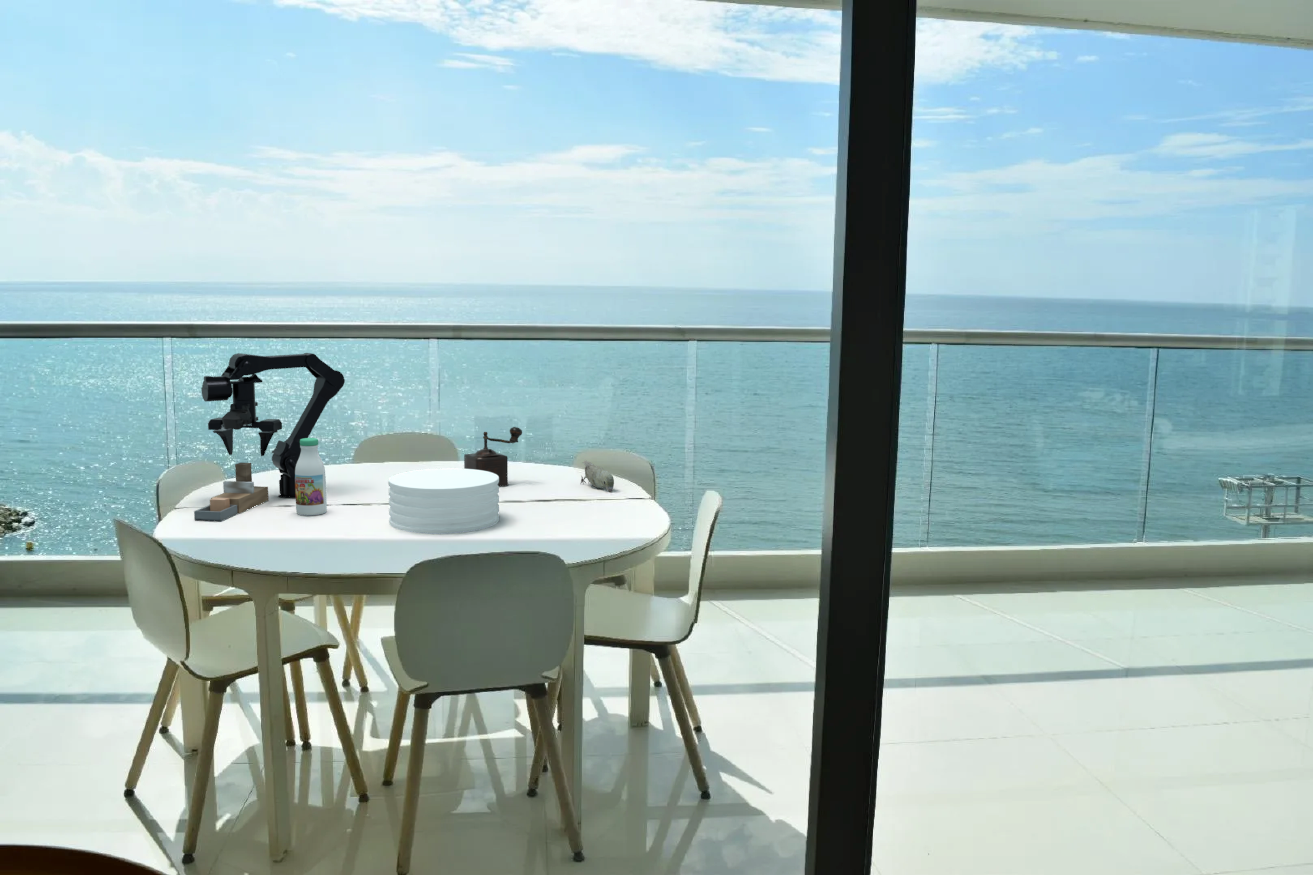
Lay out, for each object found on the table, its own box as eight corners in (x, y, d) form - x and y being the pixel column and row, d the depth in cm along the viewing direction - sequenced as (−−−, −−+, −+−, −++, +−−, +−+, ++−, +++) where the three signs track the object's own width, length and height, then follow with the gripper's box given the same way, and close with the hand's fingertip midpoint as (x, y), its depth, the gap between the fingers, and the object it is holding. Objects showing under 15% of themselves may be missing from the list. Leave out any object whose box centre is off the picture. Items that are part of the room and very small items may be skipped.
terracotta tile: (229, 498, 260) (224, 500, 258) (230, 512, 261) (225, 515, 259) (214, 497, 261) (209, 499, 258) (215, 512, 261) (210, 514, 259)
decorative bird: (603, 494, 296) (603, 469, 295) (577, 484, 310) (577, 461, 309) (619, 492, 299) (619, 467, 298) (592, 483, 313) (592, 459, 312)
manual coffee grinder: (478, 490, 298) (477, 430, 296) (463, 483, 307) (462, 426, 305) (524, 485, 307) (524, 427, 304) (509, 479, 316) (508, 422, 313)
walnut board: (268, 500, 279) (267, 486, 278) (239, 513, 262) (238, 499, 262) (242, 499, 279) (241, 485, 279) (211, 512, 263) (210, 498, 262)
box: (237, 514, 262) (237, 504, 262) (220, 521, 254) (220, 512, 253) (212, 513, 262) (211, 504, 262) (194, 520, 254) (194, 511, 254)
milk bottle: (302, 509, 269) (299, 436, 266) (330, 509, 269) (328, 436, 266) (291, 516, 261) (289, 440, 258) (321, 516, 261) (318, 441, 258)
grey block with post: (261, 489, 274) (260, 463, 273) (252, 493, 269) (250, 466, 268) (233, 488, 274) (232, 462, 273) (223, 492, 269) (222, 465, 268)
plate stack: (372, 517, 262) (371, 474, 260) (469, 504, 279) (468, 464, 277) (416, 539, 240) (415, 493, 238) (518, 524, 257) (518, 481, 255)
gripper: (195, 401, 266) (198, 459, 268) (262, 403, 265) (265, 461, 267) (217, 397, 277) (220, 452, 279) (281, 399, 276) (284, 454, 278)
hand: (246, 455), depth 276 cm, fingers open, 9 cm apart
